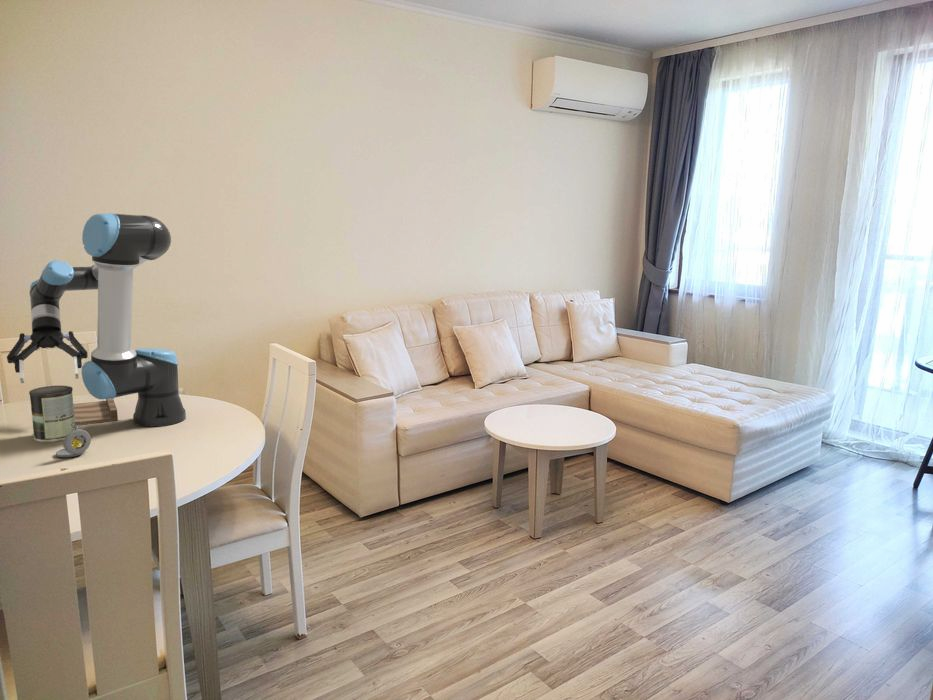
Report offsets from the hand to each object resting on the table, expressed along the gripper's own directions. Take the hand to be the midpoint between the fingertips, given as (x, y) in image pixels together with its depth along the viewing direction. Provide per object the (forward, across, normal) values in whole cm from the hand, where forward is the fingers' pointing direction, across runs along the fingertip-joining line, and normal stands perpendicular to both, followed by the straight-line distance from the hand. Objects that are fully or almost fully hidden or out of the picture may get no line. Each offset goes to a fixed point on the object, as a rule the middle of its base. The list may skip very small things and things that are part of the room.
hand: (50, 378), depth 181 cm
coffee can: (+18, 0, -4) cm, 18 cm away
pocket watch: (+32, -4, +10) cm, 34 cm away
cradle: (+3, -8, -19) cm, 21 cm away
